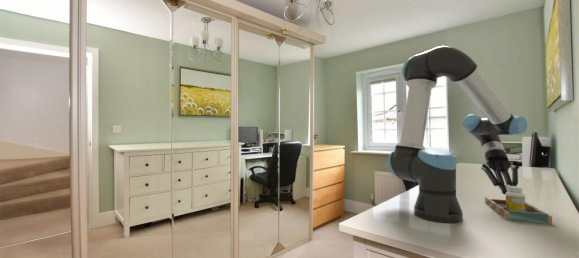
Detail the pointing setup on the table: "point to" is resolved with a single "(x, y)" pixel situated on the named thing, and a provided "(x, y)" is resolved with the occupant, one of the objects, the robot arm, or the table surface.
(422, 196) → the robot arm
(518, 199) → the supplement bottle
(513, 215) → the wooden tray
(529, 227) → the table surface
